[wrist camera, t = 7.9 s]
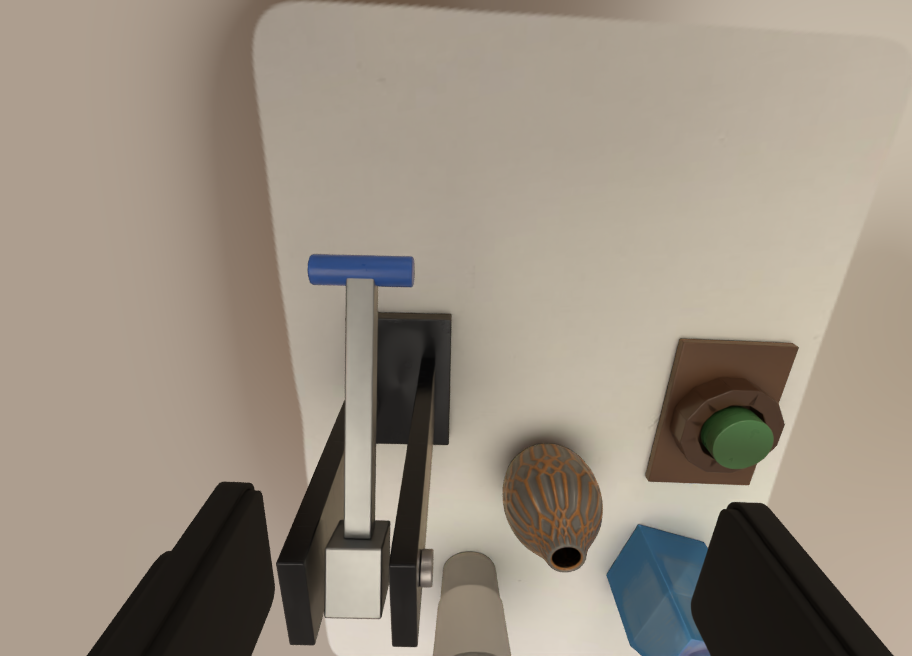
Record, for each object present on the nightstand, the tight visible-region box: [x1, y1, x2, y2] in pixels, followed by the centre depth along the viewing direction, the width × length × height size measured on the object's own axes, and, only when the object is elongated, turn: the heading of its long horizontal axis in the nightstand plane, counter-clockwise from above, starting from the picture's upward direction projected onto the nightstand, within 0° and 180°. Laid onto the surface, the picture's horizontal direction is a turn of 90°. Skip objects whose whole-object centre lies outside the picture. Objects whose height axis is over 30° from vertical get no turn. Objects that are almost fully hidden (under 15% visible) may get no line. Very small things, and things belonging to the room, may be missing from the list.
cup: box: [433, 552, 511, 656], centre depth 36 cm, size 7×7×12 cm
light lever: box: [308, 254, 415, 619], centre depth 19 cm, size 14×4×2 cm, turn 179°
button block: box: [646, 339, 799, 485], centre depth 34 cm, size 12×8×2 cm, turn 177°
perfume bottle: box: [607, 525, 711, 656], centre depth 35 cm, size 6×6×12 cm
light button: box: [701, 406, 774, 469], centre depth 32 cm, size 4×4×2 cm
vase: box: [503, 444, 603, 572], centre depth 33 cm, size 7×7×9 cm
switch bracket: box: [276, 312, 452, 647], centre depth 26 cm, size 10×7×18 cm
